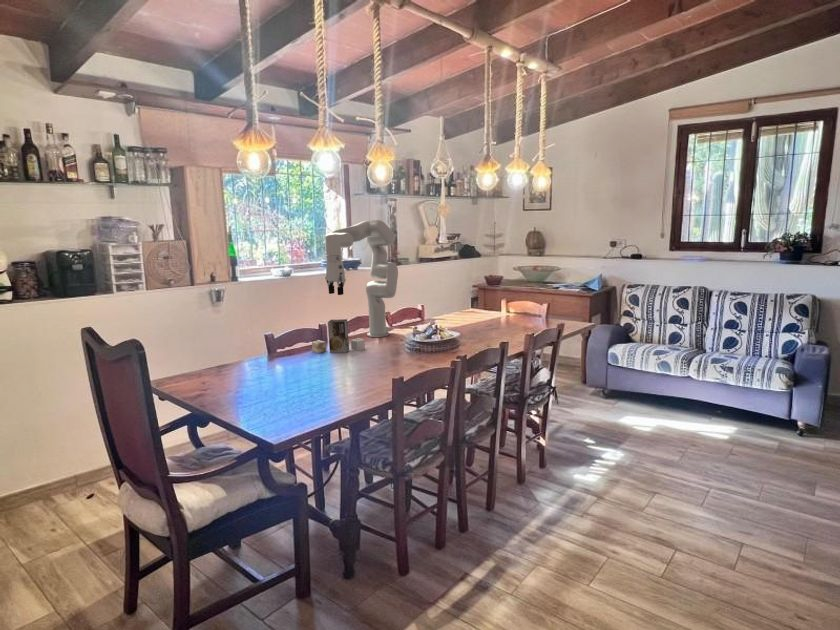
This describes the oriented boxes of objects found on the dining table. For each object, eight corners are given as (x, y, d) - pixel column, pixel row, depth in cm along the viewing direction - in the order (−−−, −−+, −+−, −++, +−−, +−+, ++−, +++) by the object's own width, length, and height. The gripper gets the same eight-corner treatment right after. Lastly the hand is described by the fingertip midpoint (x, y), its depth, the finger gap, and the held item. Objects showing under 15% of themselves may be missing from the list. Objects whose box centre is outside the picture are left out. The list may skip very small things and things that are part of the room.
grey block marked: (358, 347, 282) (358, 337, 282) (364, 348, 279) (364, 339, 278) (351, 349, 279) (350, 339, 278) (357, 350, 276) (356, 341, 275)
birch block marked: (320, 349, 280) (319, 340, 279) (326, 351, 276) (325, 341, 275) (312, 351, 276) (311, 341, 276) (317, 353, 273) (317, 343, 272)
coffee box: (349, 349, 278) (348, 319, 275) (346, 352, 272) (344, 321, 269) (332, 349, 279) (330, 319, 276) (329, 352, 273) (327, 321, 270)
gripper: (350, 258, 264) (352, 294, 267) (330, 257, 276) (332, 292, 279) (338, 260, 258) (340, 296, 262) (317, 258, 271) (320, 293, 274)
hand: (336, 293), depth 270 cm, fingers open, 6 cm apart
